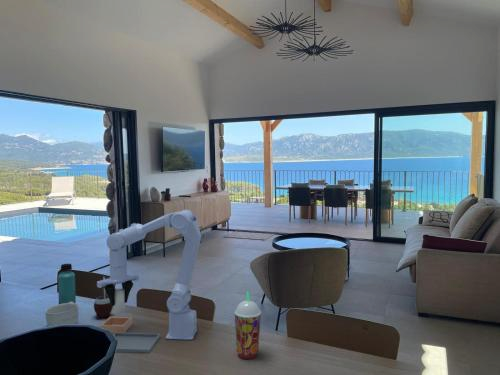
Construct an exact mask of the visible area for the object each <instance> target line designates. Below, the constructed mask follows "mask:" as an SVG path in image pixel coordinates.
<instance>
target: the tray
mask: <svg viewBox="0 0 500 375" xmlns="http://www.w3.org/2000/svg"><path fill="white" fill-rule="evenodd" d="M114 335H115V337H116V338H117V340H118V346H117V350H116V352H115V353H126V354H128V353H129V354H150V353H151V351H152V350H153V349H154V347H155V346H156V345H157V343H158V341H159V340H160V338H161V333H151V332H150V333H149V332H147V333H146V332H145V333H144V332H143V333H141V332H125V333H116V332H115V333H114Z"/></svg>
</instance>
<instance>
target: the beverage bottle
mask: <svg viewBox="0 0 500 375" xmlns="http://www.w3.org/2000/svg"><path fill="white" fill-rule="evenodd" d="M72 269H73V266H72V263H62V264H61V265H60V271H62V272H60V273H59V274H58V275H57V278H58V282H57V283H58V286H57V288H58V296H57V297H58V304H64V303H69V302H74V303H76V304H77V300H76V299H77V297H76V295H77V294H76V277H75V276H76V273H75V272H73V271H71V270H72Z"/></svg>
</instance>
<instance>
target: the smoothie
mask: <svg viewBox="0 0 500 375" xmlns="http://www.w3.org/2000/svg"><path fill="white" fill-rule="evenodd" d="M249 296H250V292H249V291H246V300H242V301H241V302H239V303H238V305H237V306H236V309H235V310H234V312H233V313H234V322H235V323H234V326H235V341H236V344H235V346H236V353H237V354H238V356H239V357H240V358H242V359H249V360H250V359H254V358H256V357H257V355H258V353H259V344H260V343H259V342H260V328H261V314H262V311H261V309H260V307H259V306H258V304H257V303H256V302H255V301H252V300H250V297H249Z"/></svg>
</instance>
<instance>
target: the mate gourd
mask: <svg viewBox="0 0 500 375" xmlns="http://www.w3.org/2000/svg"><path fill="white" fill-rule="evenodd" d="M102 278H103V279H102V280H104V279H106V277H105V276H103V277H102ZM93 309H94V312H95V315H96V320H100V319H104V318H105V319H106V320H107V319H108V318H109V317H110V315H111V313H112V312H113V306H112V305H110V300H109V297H108V295H106V290H105V288H104V287H103V295H101V296H98V297H96V299H95V300H94V303H93Z"/></svg>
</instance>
